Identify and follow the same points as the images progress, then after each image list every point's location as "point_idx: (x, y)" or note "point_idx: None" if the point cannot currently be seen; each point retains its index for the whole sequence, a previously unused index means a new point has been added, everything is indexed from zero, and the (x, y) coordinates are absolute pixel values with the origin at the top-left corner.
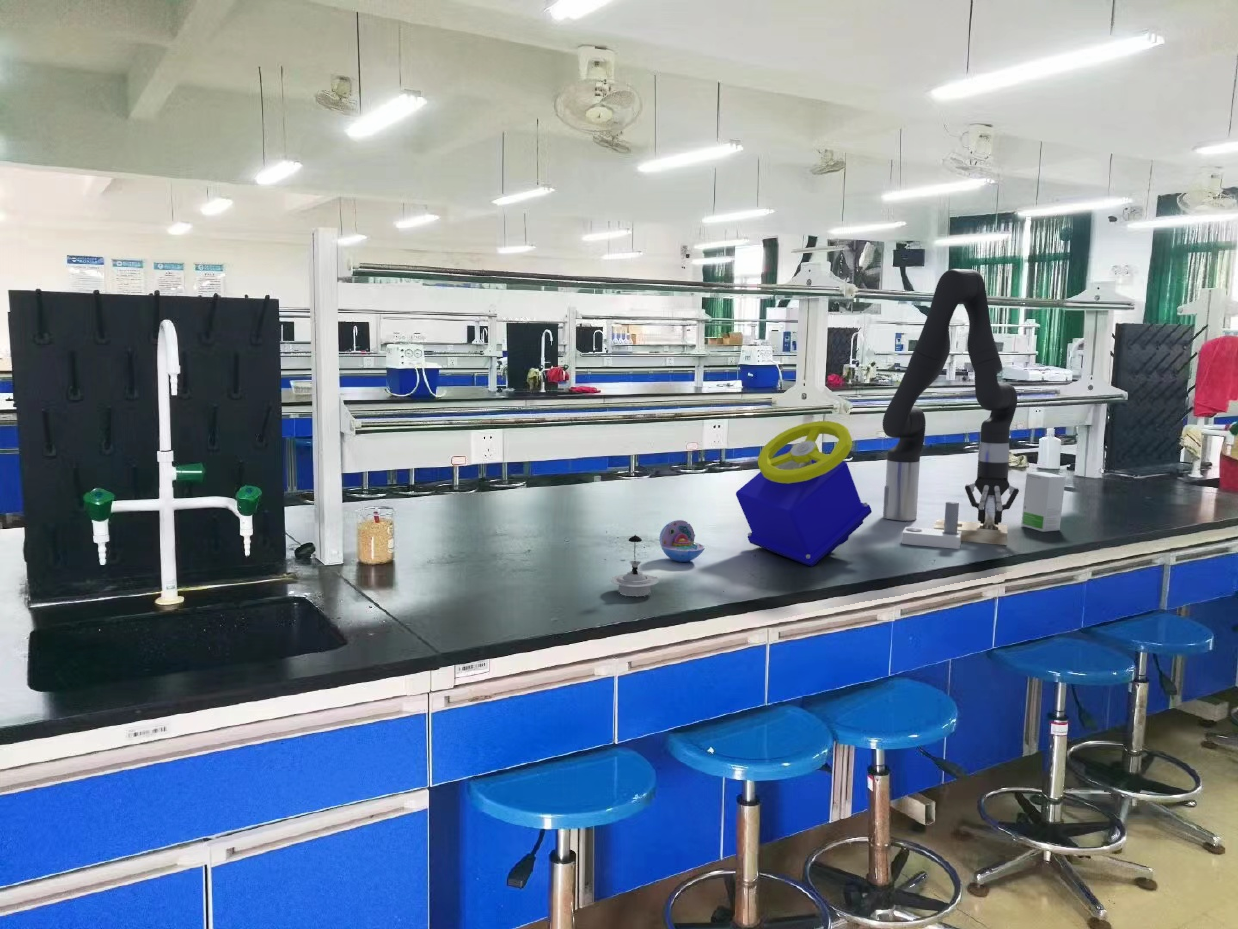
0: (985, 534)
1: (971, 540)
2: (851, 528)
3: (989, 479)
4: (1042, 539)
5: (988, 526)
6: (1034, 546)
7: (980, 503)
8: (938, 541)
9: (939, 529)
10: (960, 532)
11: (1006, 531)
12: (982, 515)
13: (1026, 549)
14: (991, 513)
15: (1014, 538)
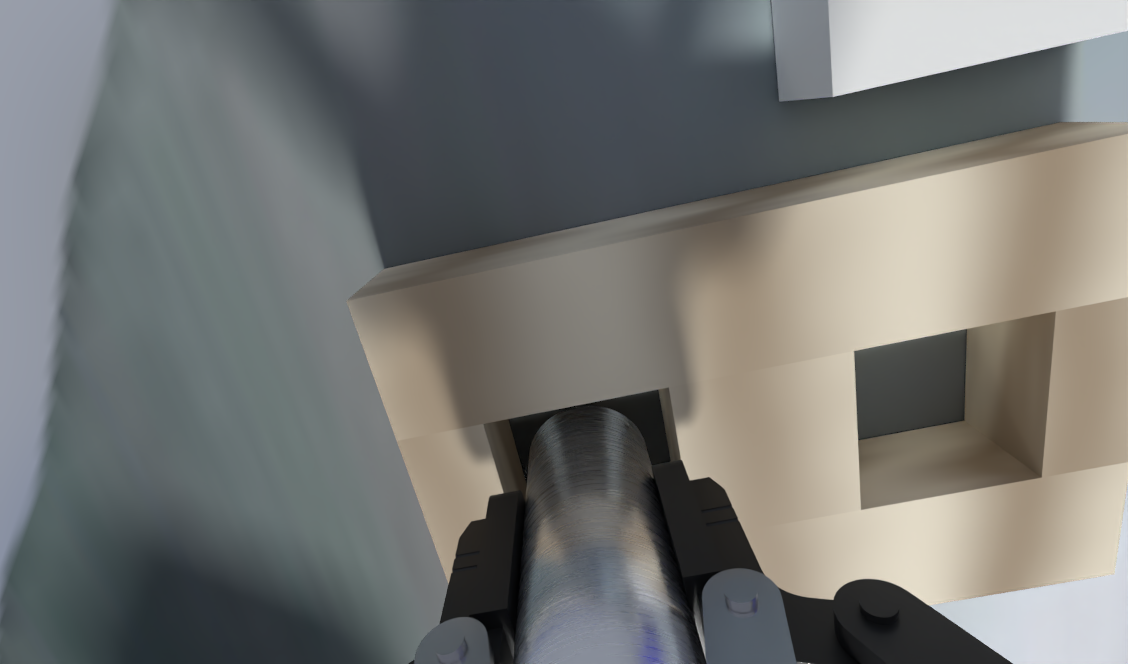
0: (570, 246)
1: (693, 202)
2: None
3: None
4: (248, 633)
5: (585, 439)
6: (184, 367)
7: (776, 658)
8: None
9: (1113, 32)
10: (838, 4)
11: (394, 410)
12: (681, 519)
13: (179, 197)
14: (566, 548)
15: (419, 557)
